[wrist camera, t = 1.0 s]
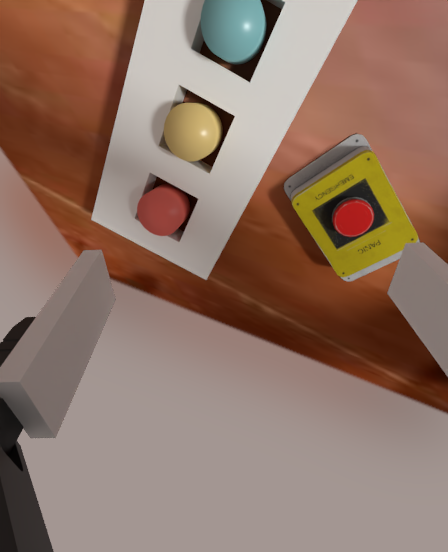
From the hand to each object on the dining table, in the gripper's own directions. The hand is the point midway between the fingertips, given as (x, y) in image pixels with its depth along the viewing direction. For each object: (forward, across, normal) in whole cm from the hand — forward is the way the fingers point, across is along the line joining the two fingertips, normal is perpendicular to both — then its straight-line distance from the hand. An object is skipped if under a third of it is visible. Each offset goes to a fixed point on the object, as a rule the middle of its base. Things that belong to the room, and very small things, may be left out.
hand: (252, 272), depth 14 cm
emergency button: (+21, -13, +7) cm, 26 cm away
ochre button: (+23, +4, -2) cm, 24 cm away
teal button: (+23, 0, -10) cm, 25 cm away
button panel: (+25, +3, -2) cm, 25 cm away
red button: (+23, +8, +6) cm, 25 cm away
